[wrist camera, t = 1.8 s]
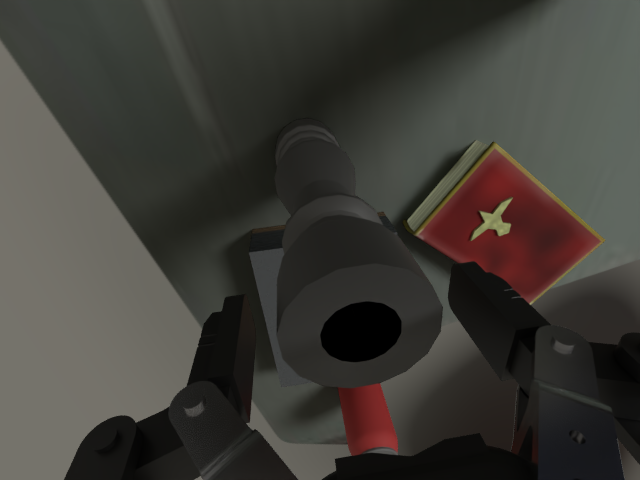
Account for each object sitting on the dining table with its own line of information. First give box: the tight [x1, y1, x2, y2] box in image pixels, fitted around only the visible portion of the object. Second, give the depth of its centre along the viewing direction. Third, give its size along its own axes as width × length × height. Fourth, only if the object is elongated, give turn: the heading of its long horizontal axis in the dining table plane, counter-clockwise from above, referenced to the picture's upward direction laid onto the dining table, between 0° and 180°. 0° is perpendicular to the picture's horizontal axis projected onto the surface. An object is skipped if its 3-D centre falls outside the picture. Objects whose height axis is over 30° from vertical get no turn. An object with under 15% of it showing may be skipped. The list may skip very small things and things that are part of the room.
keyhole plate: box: [249, 212, 397, 387], centre depth 40 cm, size 15×21×5 cm
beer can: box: [338, 383, 398, 456], centre depth 46 cm, size 7×7×12 cm
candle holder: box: [275, 118, 443, 388], centre depth 22 cm, size 6×6×25 cm
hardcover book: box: [403, 140, 605, 305], centre depth 38 cm, size 12×21×4 cm, turn 56°
